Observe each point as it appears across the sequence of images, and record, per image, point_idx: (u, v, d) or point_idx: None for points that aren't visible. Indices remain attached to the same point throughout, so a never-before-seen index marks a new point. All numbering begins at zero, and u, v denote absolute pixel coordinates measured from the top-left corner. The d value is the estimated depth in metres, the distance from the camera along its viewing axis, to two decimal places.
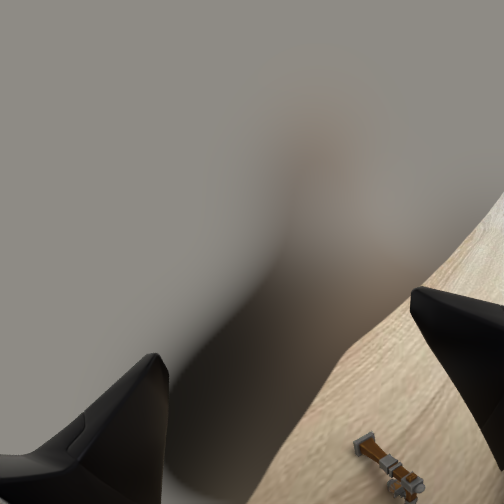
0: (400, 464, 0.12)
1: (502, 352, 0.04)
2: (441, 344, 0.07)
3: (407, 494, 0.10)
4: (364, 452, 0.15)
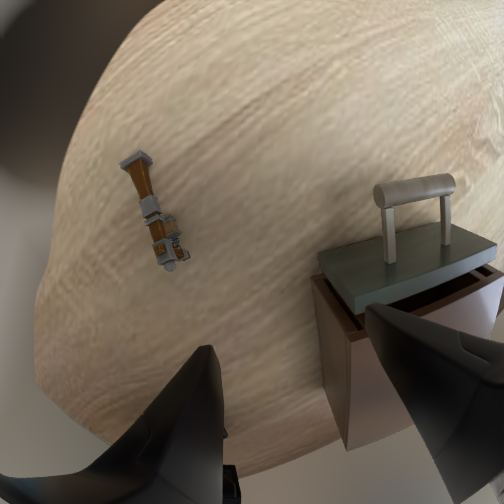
0: (156, 219, 0.16)
1: (451, 387, 0.04)
2: (392, 366, 0.07)
3: None
4: None
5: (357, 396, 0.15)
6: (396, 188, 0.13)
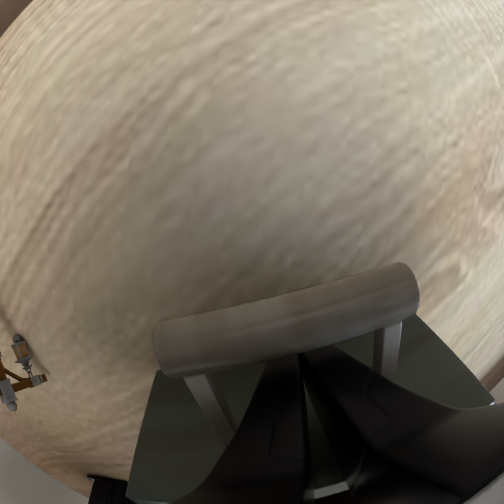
0: None
1: (347, 434, 0.04)
2: (311, 394, 0.07)
3: None
4: None
5: None
6: (193, 345, 0.05)
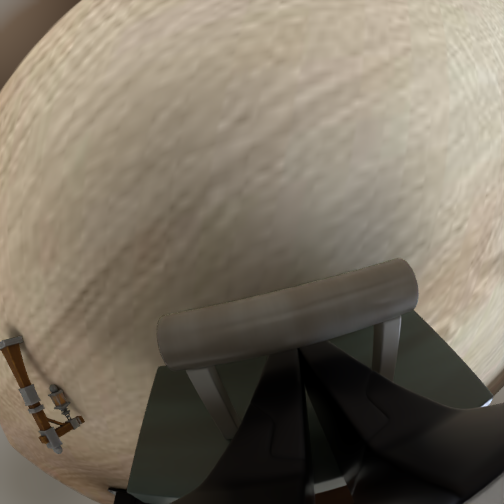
0: (34, 412, 0.10)
1: (347, 434, 0.04)
2: (311, 394, 0.07)
3: None
4: None
5: None
6: (197, 338, 0.05)
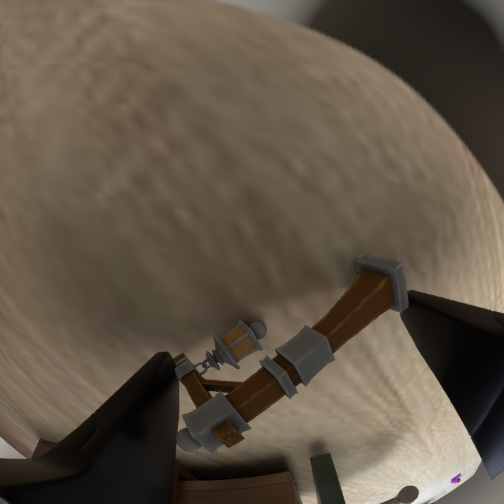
0: (288, 394, 0.06)
1: (492, 360, 0.04)
2: (431, 349, 0.07)
3: (197, 387, 0.07)
4: (362, 283, 0.08)
5: None
6: None
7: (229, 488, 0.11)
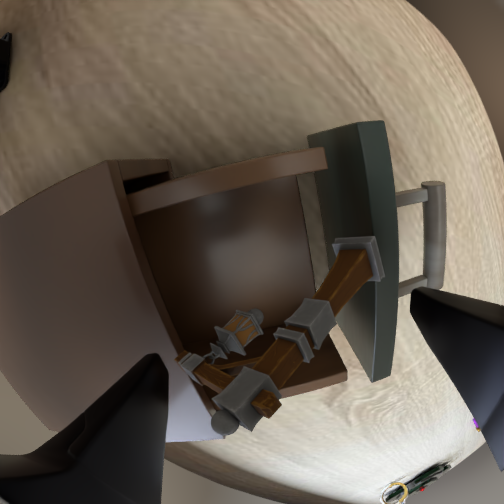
0: (307, 358, 0.07)
1: (502, 352, 0.04)
2: (441, 344, 0.07)
3: (215, 373, 0.07)
4: (343, 259, 0.10)
5: (13, 222, 0.07)
6: (445, 201, 0.11)
7: None
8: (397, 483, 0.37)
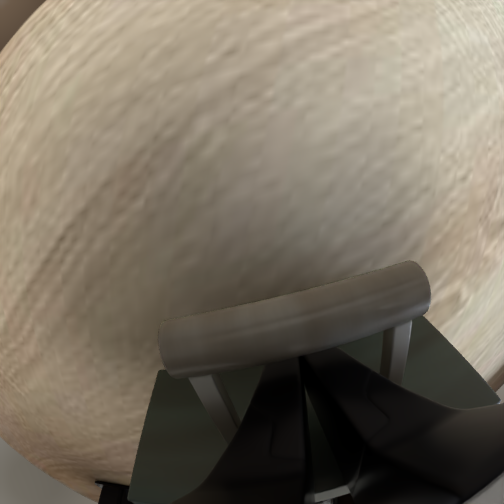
0: None
1: (347, 434, 0.04)
2: (311, 394, 0.07)
3: None
4: None
5: None
6: (201, 345, 0.05)
7: None
8: None
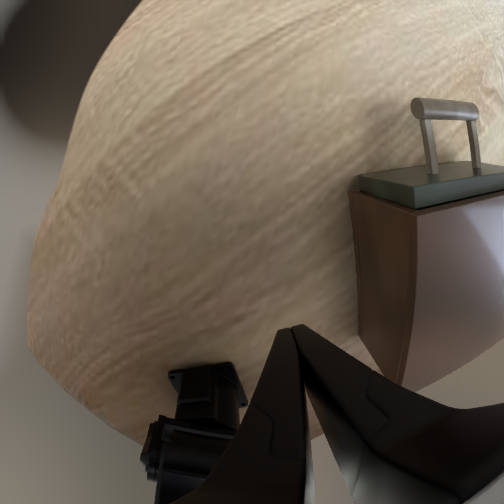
0: None
1: (347, 434, 0.04)
2: (310, 394, 0.07)
3: None
4: None
5: (421, 303, 0.13)
6: (431, 101, 0.12)
7: None
8: None
